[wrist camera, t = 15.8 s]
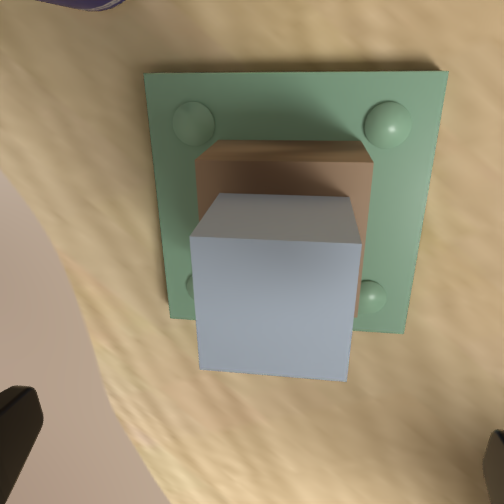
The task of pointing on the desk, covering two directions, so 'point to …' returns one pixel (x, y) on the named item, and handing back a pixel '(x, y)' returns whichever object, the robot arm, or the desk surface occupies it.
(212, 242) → the grey cube
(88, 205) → the desk surface
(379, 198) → the baseplate
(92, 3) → the energy drink
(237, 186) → the walnut brick
